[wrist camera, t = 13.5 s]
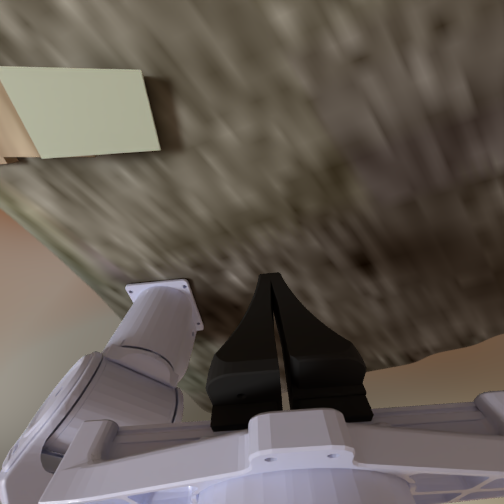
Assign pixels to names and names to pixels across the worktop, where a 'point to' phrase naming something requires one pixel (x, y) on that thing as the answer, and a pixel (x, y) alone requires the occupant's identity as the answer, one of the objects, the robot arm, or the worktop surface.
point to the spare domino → (82, 110)
